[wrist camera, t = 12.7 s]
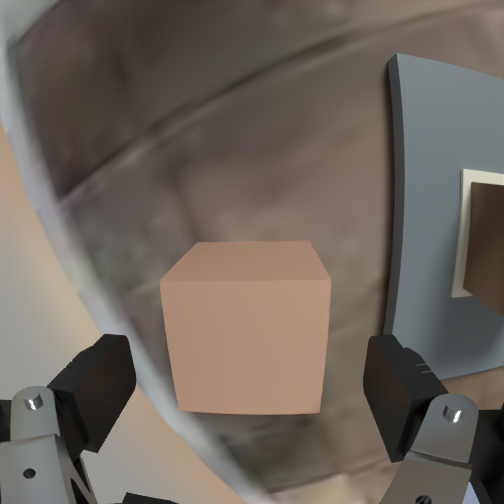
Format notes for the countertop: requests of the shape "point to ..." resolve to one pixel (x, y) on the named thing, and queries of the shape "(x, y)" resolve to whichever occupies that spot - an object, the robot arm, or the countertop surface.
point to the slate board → (442, 211)
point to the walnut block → (486, 246)
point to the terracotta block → (247, 327)
